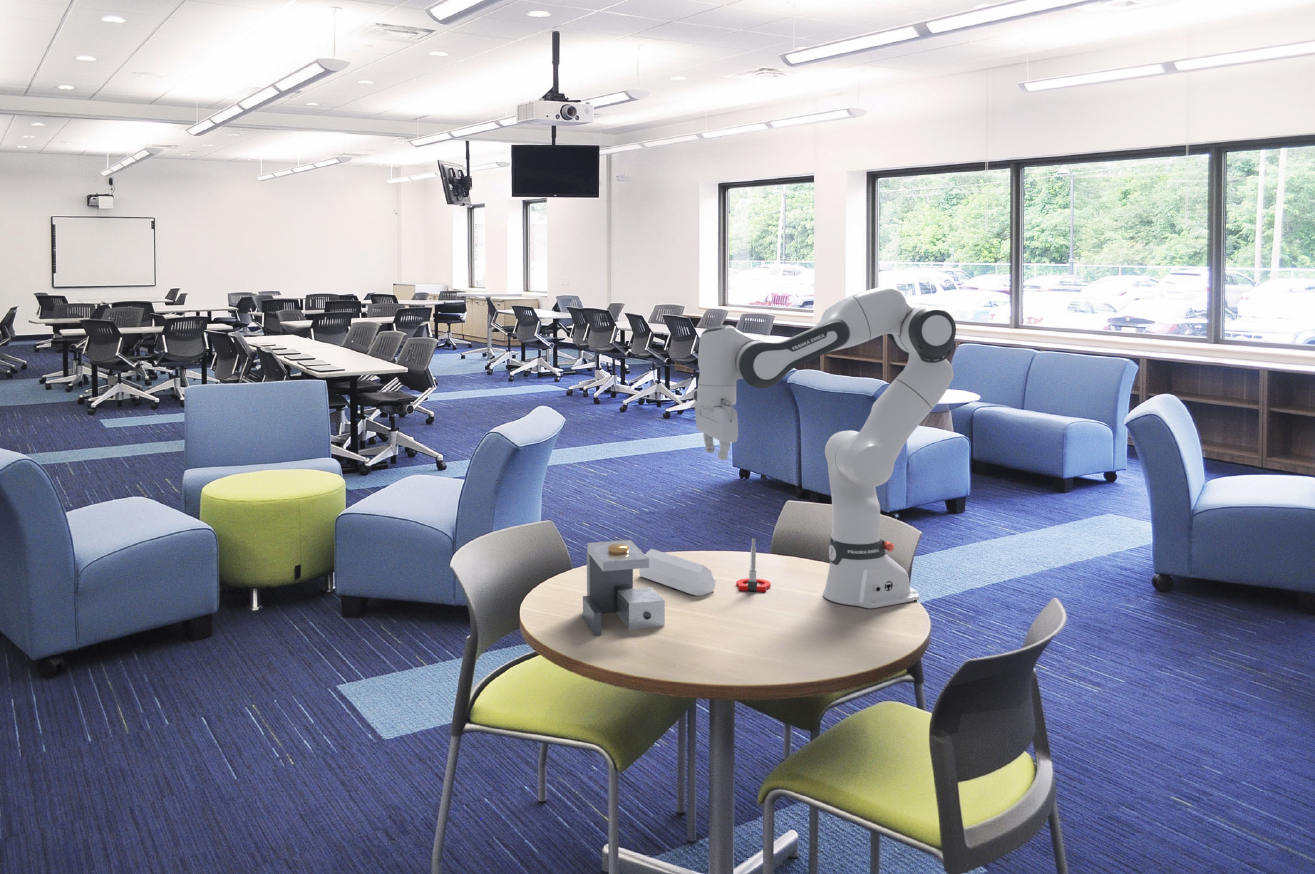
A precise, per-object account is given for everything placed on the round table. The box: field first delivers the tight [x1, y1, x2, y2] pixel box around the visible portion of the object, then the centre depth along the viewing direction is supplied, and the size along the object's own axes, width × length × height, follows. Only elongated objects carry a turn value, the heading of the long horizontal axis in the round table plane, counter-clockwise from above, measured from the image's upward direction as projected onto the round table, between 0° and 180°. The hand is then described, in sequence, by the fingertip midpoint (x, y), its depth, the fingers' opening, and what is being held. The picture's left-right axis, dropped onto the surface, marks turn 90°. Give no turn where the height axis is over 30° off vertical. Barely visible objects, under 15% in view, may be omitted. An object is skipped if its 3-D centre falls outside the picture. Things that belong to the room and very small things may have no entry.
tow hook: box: [735, 538, 772, 593], centre depth 259 cm, size 8×13×9 cm
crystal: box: [638, 548, 717, 597], centre depth 261 cm, size 7×7×24 cm
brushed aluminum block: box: [617, 586, 666, 630], centre depth 234 cm, size 8×10×6 cm
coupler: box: [582, 539, 649, 637], centre depth 233 cm, size 12×17×17 cm
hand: (716, 455), depth 245 cm, fingers open, 8 cm apart
